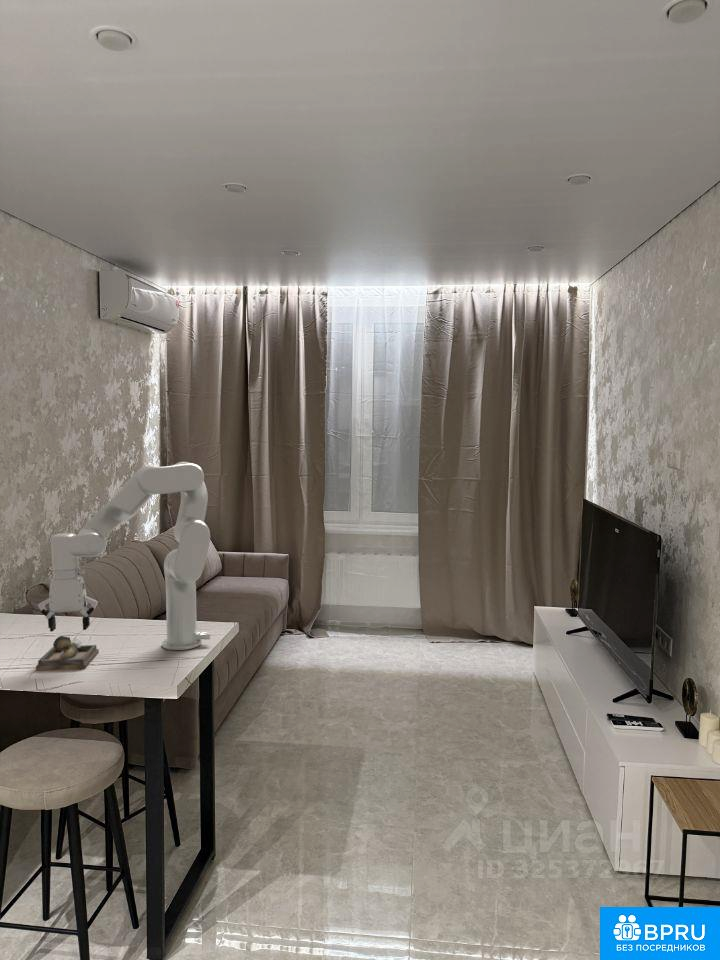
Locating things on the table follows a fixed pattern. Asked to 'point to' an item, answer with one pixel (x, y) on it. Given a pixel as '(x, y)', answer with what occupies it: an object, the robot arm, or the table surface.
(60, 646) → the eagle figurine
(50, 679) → the table surface
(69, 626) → the table surface
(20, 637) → the table surface
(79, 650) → the wooden tray
